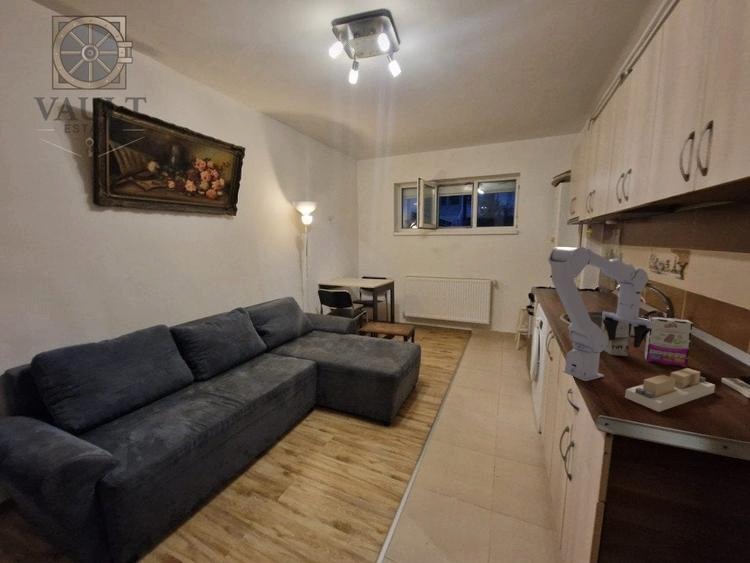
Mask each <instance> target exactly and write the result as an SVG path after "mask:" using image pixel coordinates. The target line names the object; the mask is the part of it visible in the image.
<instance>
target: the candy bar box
mask: <svg viewBox="0 0 750 563" xmlns="http://www.w3.org/2000/svg"><path fill="white" fill-rule="evenodd" d="M648 321H652V322H655V323H654V328H652V329H651V330H650V331H649V332H648V333H647V335H646V338H645V341H646V342H645V348H644V359H645V361H646V362H650V363H654V364H662V365H668V366H674V367H675V366H676V367H682V368H688V362H689V353H690V346H691V339H692V331H693V324H694V323H693V322H692V321H691V320H690V319H681V318H669V317H661V316H660V317H659V316H648Z"/></svg>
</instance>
